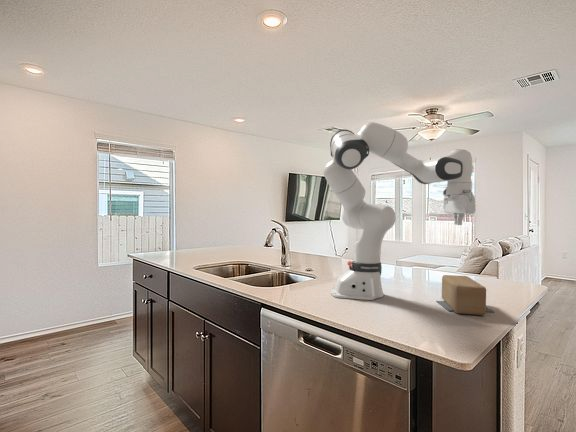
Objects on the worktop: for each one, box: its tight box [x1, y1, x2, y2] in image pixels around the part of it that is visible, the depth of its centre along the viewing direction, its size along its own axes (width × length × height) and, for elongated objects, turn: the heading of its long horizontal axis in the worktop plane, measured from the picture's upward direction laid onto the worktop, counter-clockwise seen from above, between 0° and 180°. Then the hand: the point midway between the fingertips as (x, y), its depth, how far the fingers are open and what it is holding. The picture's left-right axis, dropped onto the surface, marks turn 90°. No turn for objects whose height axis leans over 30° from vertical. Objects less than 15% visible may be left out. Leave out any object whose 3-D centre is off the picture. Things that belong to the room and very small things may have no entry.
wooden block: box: [441, 274, 487, 316], centre depth 125 cm, size 10×10×20 cm
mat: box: [435, 300, 495, 314], centre depth 126 cm, size 16×12×1 cm
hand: (458, 224), depth 134 cm, fingers closed
